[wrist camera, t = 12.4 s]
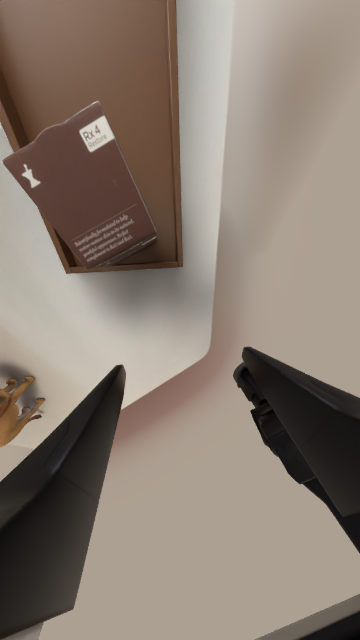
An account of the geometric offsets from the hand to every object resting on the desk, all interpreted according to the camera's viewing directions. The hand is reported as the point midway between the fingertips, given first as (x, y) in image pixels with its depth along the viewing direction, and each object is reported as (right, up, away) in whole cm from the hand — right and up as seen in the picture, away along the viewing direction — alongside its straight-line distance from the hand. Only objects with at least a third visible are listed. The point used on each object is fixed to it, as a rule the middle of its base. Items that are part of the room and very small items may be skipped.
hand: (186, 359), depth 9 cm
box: (-7, +13, +5) cm, 16 cm away
